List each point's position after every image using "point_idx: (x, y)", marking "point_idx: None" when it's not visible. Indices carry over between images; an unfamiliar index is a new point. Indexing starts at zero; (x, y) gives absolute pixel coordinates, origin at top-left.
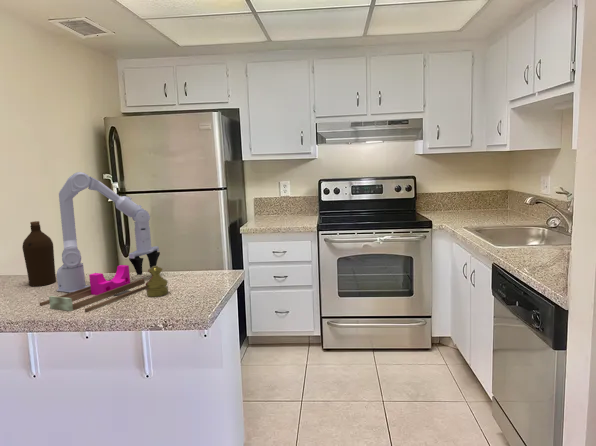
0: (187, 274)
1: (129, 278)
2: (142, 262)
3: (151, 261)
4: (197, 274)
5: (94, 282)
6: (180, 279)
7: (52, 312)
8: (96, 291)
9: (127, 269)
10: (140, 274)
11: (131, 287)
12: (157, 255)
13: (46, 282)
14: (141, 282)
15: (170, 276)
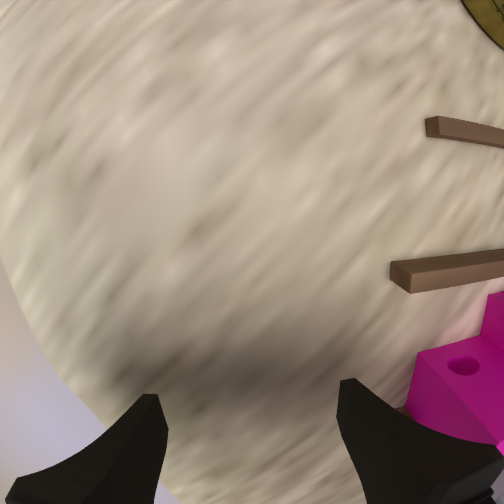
0: (27, 112)
1: (444, 373)
2: (404, 454)
3: (142, 483)
4: (20, 43)
5: None
6: (175, 27)
7: None
8: None
9: (495, 415)
10: (358, 384)
11: (497, 251)
12: (62, 489)
13: None
14: (430, 263)
15: (115, 207)
